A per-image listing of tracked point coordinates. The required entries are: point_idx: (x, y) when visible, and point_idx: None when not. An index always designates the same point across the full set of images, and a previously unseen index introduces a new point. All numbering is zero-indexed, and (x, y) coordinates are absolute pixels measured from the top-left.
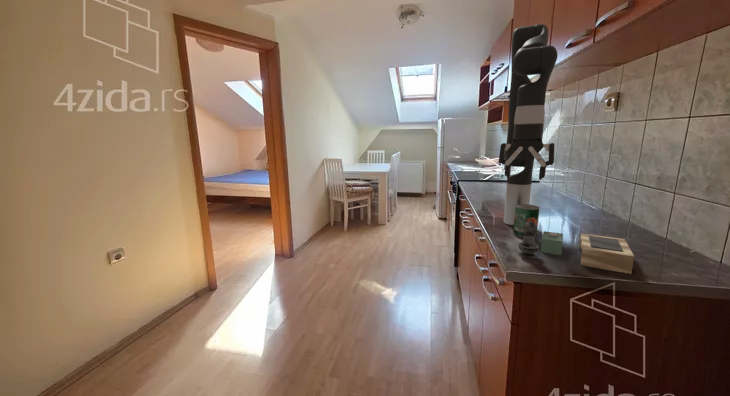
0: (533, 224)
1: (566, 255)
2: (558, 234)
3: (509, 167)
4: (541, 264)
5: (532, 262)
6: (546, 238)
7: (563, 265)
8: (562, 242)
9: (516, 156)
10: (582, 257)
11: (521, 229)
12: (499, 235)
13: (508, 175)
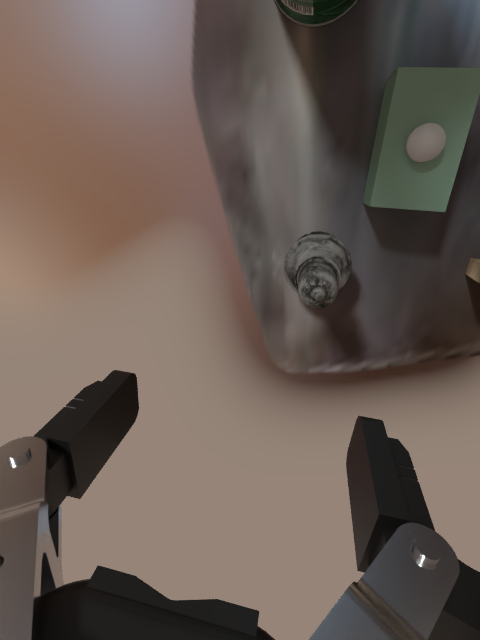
0: (327, 305)
1: None
2: (458, 96)
3: (86, 485)
4: (349, 311)
5: None
6: (387, 196)
7: (410, 295)
8: (443, 211)
9: (34, 560)
10: (478, 281)
11: (300, 8)
12: (215, 51)
13: (124, 428)
